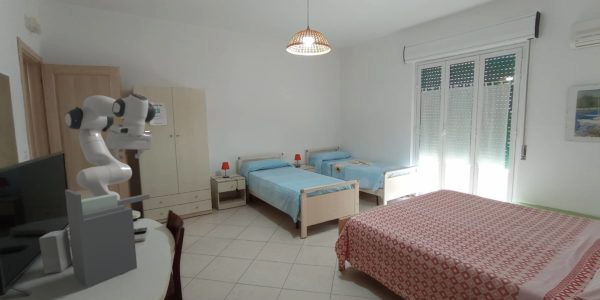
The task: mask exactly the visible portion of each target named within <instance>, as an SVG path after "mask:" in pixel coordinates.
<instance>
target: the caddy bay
mask: <svg viewBox="0 0 600 300" xmlns="http://www.w3.org/2000/svg"><path fill="white" fill-rule="evenodd" d="M64 194H65V201H66V212H67V220H68V222H67V223H68V230H69V232H68V233H69V242H70V251H71V259H72V266H73V267H72V268H73V277H74V278H75V279H76V280H77V282H79V283H80V284H81V285H82V286H83V287H84V288H85V289H88V288H92V287H94V286H96V285H99V284H101V283H104V282H106V281H109V280H111V279H113V278H117V277H118V276H120V275H124V274H126V273H128V272H130V271H133V270H136V269H138V264H137V251H136V241H135V237H136V236H135V228H134V227H135V226H134V216H133V208H132V207H128V206H126V205H121V206H118V207H113V208H109V209H105V210H100V211H96V212H92V213H87V214H83V213H82V203H81V200H82V196H81V194H80V193H78V192H76V191H75V190H71V189H64Z"/></svg>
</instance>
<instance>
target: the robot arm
mask: <svg viewBox="0 0 600 300" xmlns="http://www.w3.org/2000/svg"><path fill="white" fill-rule="evenodd" d="M156 115H157V114H156V109H155V107H154V106H153V104H152V103H151V102H149V99H148V98H147V97H145V96H143V95H141V94H137V93H130V94H129V95H128V96H127V97H123V98H117V99H115V98H113V97H109V96H107V95H99V94H97V95H90V96H88V97H86V98H85V100H83V106H82V107H81V108H80V107H78V106H76V107H74V108H73V109H70V110H69V111H67V112H66V113H65V117H64V119H65V123H66V126H67V127H68V128H69V129H72V130H78V131H79V130H80V131H79V133H78V141H79V145H80V148H81V150H82V153H83V155H84V158H85V160H86V161H87V162H88V163H89V164H92V165H95V166H91V167H88V168H84V169H81V170H80V171H78V173H77V174H76V183H77V184H78V185H79V187H81V188H83V189H85V190H86V191H88V192H90V193H91V194H92V196H93V197H98V196H103V195H108V194H115V195H117V200H120V199H121V196H120V194H119V193H118V192H116V191H113V190H109V187H108V186H111V185H112V186H113V185H117V184H122V183H124V182H127V181H129V180H130V179H131V177H132V175H133V171H132V168H131V167H130V165H128V164H127V163H123V162H122V161H119V160H118V159H120V158H121V154H120V153H119V151H120V150H138V152H137V153H135V154H134V158H135V159H140V158H141V155H142V154H143V153H144V151H147V150H148V151H150V150H151V149H152V147H153V136H154V134H153V132H152V131H150V130H145V126H146V124H147V123H150V122H151V121H153V120H154V118H155V117H156ZM114 117H116V118H119V119H123V120H122V121H123V122H122V123H118V124H114V122H115V119H114ZM108 130H110V131H109V132H108ZM103 132H104V133H106V132H108V133H107V136H106V139H105V140H104V139H103V136H102V133H103ZM109 149H112V150H113V153H114V156H113V155H112V154H111V152H110V150H109Z"/></svg>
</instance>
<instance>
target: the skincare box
mask: <svg viewBox="0 0 600 300" xmlns="http://www.w3.org/2000/svg"><path fill="white" fill-rule="evenodd" d="M38 241H39V247H40V248H39V249H40V253H41V261H42V265H43V272H44V273H43V274H46V275H47V274H53V273H56V274H57V273H62V272H63V271H64V270H66V269H67V268H68V267H69V266H71V265H72V264H73V259H72V251H71V244H70V237H69V232H68V229H62V230H54V231H50V232H48V233H46V234H44V235H42V236H40V237H39V238H38Z"/></svg>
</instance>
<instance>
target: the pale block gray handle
mask: <svg viewBox="0 0 600 300" xmlns="http://www.w3.org/2000/svg"><path fill="white" fill-rule="evenodd" d="M150 197H151V196H150V194H149V193H144V194H139V195H136V196H131V197H126V198H120V200H117V195H115V194H108V195H103V196H98V197H94V196H93V197H88V198H83V199H82V198H81V203H82V213H83V214H87V213H92V212H96V211H100V210H105V209H109V208H113V207H118V206H121V205H124V206H126V205H129V204H132V203H137V202H143V201H146V200H150V199H151V198H150Z"/></svg>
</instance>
